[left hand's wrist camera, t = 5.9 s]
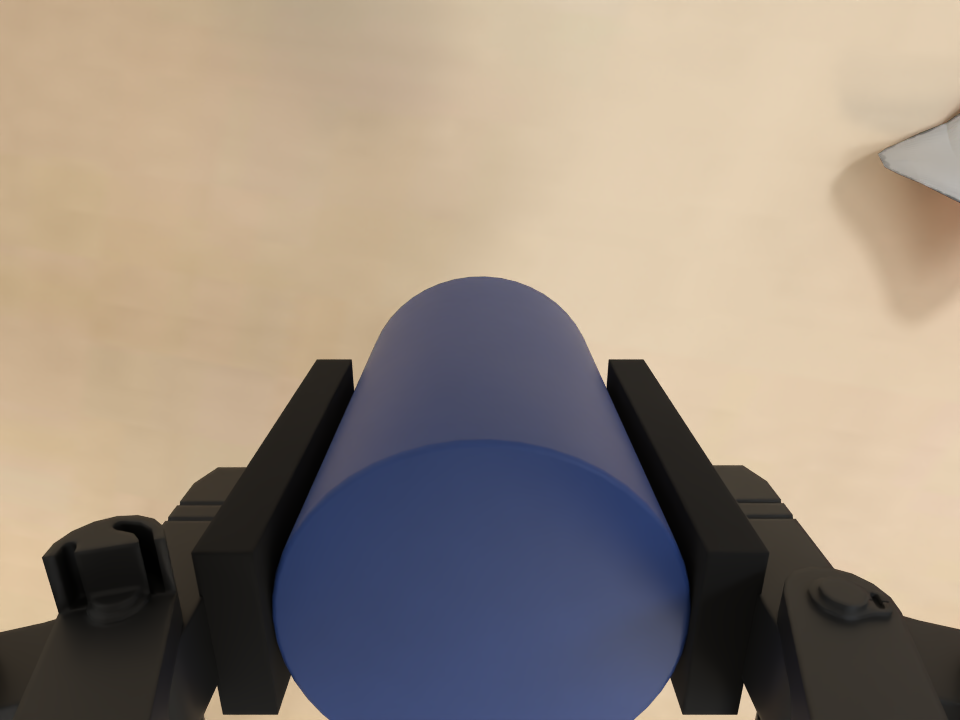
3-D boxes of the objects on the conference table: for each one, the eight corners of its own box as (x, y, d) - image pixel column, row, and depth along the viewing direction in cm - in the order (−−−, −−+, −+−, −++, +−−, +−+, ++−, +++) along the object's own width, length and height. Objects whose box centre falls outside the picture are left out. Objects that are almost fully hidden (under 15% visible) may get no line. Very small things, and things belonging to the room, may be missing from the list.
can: (365, 271, 15) (250, 433, 7) (603, 279, 15) (727, 449, 8) (371, 478, 17) (286, 769, 10) (581, 484, 17) (661, 778, 10)
